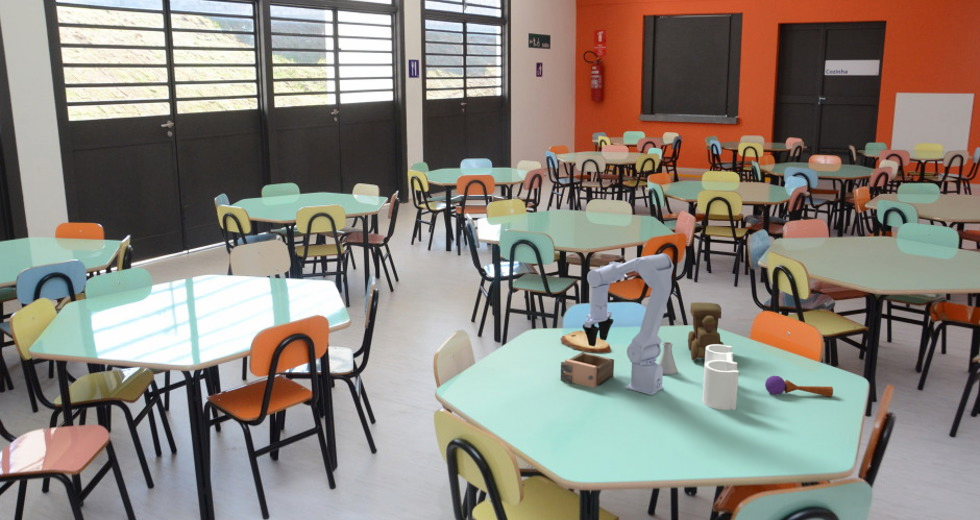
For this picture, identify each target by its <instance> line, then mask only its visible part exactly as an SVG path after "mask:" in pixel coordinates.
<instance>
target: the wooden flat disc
mask: <svg viewBox="0 0 980 520" xmlns="http://www.w3.org/2000/svg"><path fill="white" fill-rule="evenodd" d="M560 341H561V343H562V344H563V346H566V347H567V348H570V349H572V350H577V351H579V352H584V351H585V352H584V353H589V354H606V353H611V352H612V349H611V345H610V344H609V342H607V340H602V339H600V337H598V336H597V338H596V345H595V346H590V345H589V344H588V339H587V335H586V333H585V331H584V330H576V331H572V332H569V333H568V334H565V335H562V336H561V338H560Z"/></svg>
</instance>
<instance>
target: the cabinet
mask: <svg viewBox="0 0 980 520" xmlns="http://www.w3.org/2000/svg"><path fill="white" fill-rule="evenodd" d="M569 359H570V360H574V361H578V362H582V363H586V364H590V365H594V366H597V373H596V387H598V386H599V387H600V386H601V385H602V384H604V383H606V382H607V381H609V380H610V379H612V378H613V377H614V375H615V373H614V372H615V370H614V368H615V359H613V358H608V357H606V356H601V355H597V354H594V353H589V352H584V351H581V352H580V353H579V354H576V355H574V356H573V357H571V358H569ZM571 370H572V366H568V365H565V361H561V362H560V381H562V382H566V383H570V384H571V383H572V382H571V376H569V375H565V374H564V371H565V372H569V373H571Z"/></svg>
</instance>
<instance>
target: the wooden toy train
mask: <svg viewBox="0 0 980 520" xmlns="http://www.w3.org/2000/svg"><path fill="white" fill-rule="evenodd" d="M690 315H691V316H692V329H693V330H691V331H689V332H688V337H687V346H688V350H690V358H691V360H693V361H697V359H705V351H706V346H708V345H713V344H720V345H725V344H724V342H723V341H722V340H721V334H720V332H718V327H719V319H722V307H721V305H720V304H719V303H714V302H690Z"/></svg>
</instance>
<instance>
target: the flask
mask: <svg viewBox="0 0 980 520" xmlns="http://www.w3.org/2000/svg"><path fill="white" fill-rule="evenodd" d="M662 344H663V351H662V354H661V356H660V358H659V362H658V363H657V364H658V365H661V366H662V368H663V375H666V376H667V375H668V376H669V375H670V376H671V375H676V374H677V373H678V368H677V365H676V362H675V359H674V355H673V345H674V344H673V343H672V342H670V341H664V342H663V343H662Z"/></svg>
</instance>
